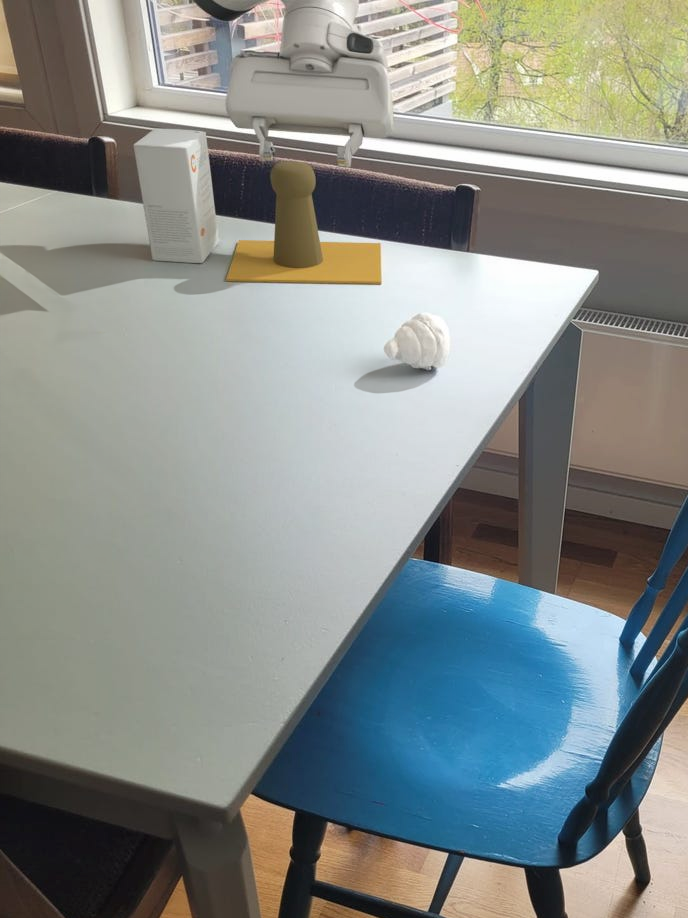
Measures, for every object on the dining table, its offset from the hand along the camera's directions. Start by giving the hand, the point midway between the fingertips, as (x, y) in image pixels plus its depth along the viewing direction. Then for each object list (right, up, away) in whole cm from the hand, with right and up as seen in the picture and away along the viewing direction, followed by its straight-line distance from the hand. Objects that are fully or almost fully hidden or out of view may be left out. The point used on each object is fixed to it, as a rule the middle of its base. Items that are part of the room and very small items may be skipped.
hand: (304, 161), depth 120 cm
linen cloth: (0, -12, +2) cm, 12 cm away
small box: (-15, -10, +3) cm, 18 cm away
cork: (-1, -12, +2) cm, 12 cm away
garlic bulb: (+15, -31, -21) cm, 40 cm away
